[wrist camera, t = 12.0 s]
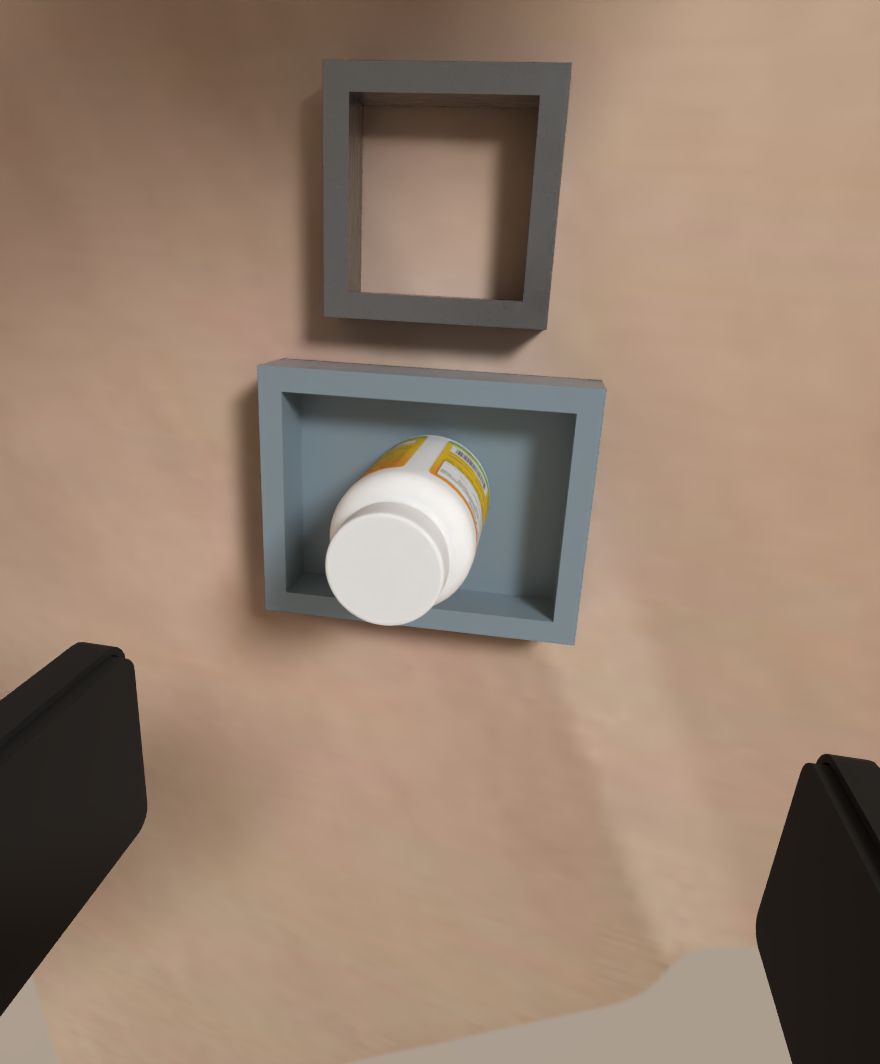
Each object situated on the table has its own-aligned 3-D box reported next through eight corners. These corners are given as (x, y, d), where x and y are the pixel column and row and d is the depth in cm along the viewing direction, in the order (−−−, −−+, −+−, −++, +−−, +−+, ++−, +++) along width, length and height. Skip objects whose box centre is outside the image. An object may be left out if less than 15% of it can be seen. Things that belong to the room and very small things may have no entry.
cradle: (338, 75, 28) (322, 59, 26) (570, 78, 27) (571, 62, 25) (337, 315, 31) (323, 316, 29) (546, 327, 30) (546, 329, 28)
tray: (283, 358, 32) (257, 365, 29) (601, 380, 30) (606, 389, 27) (288, 584, 35) (265, 609, 33) (572, 615, 34) (574, 645, 31)
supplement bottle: (365, 533, 33) (294, 625, 24) (383, 421, 31) (313, 475, 22) (477, 559, 33) (448, 663, 24) (502, 447, 31) (480, 513, 22)
